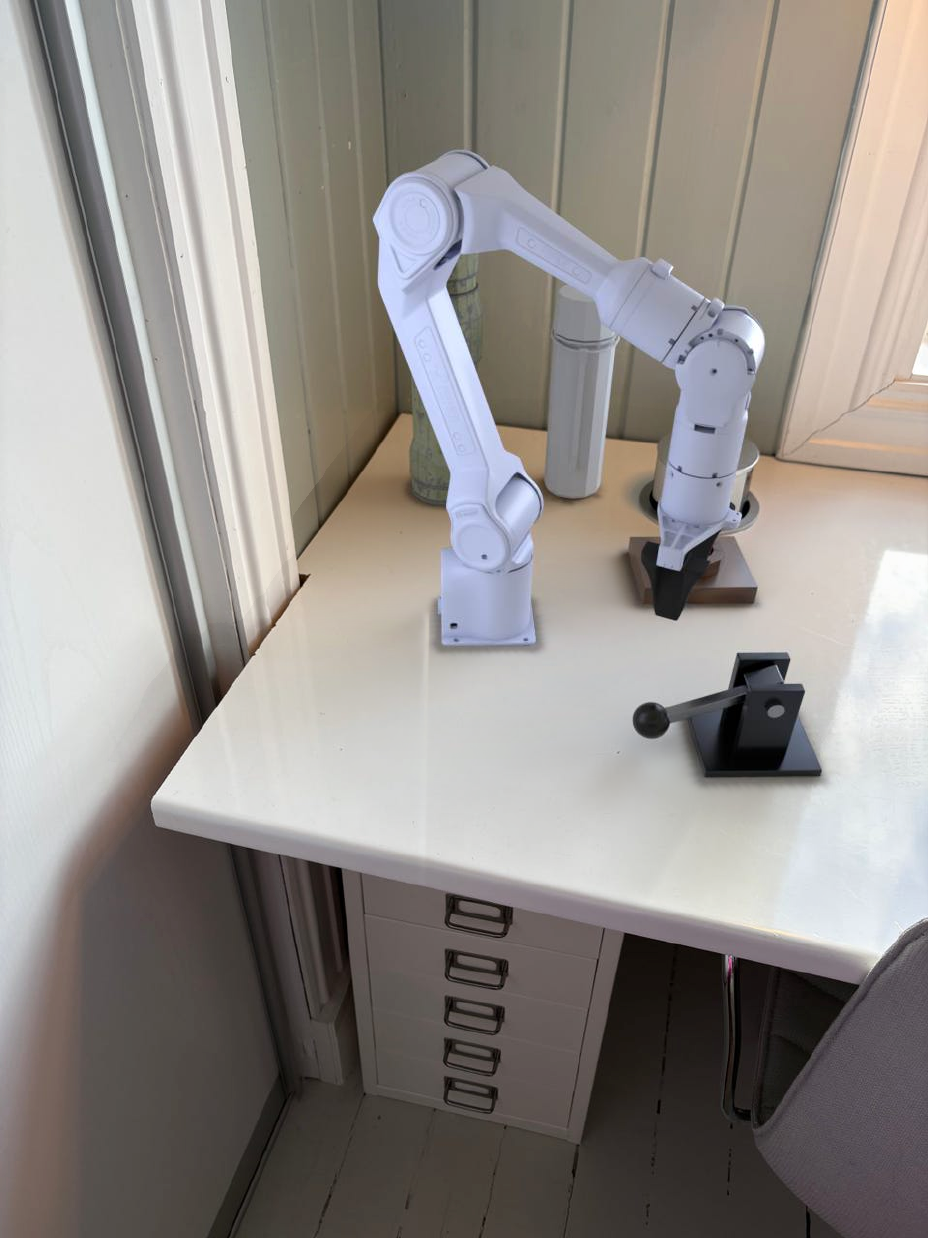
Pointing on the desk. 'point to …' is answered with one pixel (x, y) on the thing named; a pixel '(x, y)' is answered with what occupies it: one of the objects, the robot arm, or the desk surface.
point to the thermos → (424, 448)
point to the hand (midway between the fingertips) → (678, 593)
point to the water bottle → (578, 396)
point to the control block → (718, 584)
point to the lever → (697, 704)
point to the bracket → (756, 728)
